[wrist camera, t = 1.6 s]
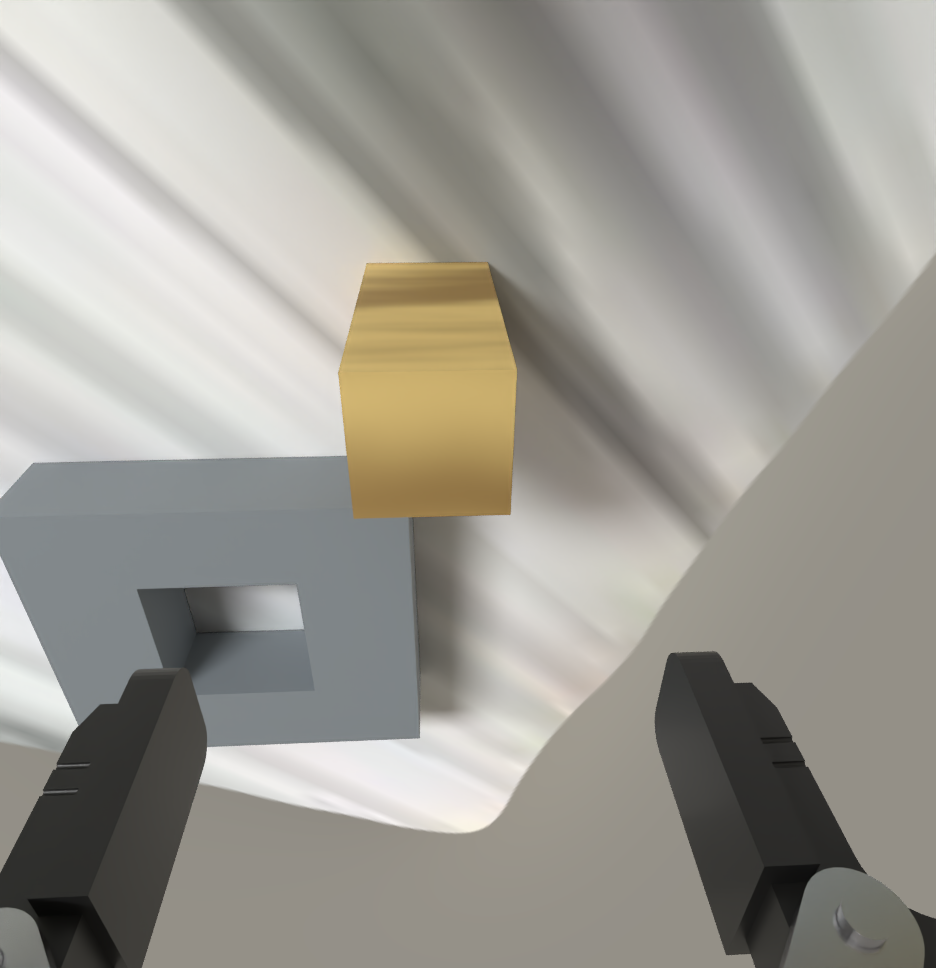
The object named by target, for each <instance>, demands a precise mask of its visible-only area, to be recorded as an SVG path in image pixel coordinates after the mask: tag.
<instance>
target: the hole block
mask: <svg viewBox="0 0 936 968" xmlns="http://www.w3.org/2000/svg"><path fill="white" fill-rule="evenodd" d="M0 556H1V558H2V560H3V563H4V565H5V567H6V569H7V571H8V573H9V576H10V578H11V580H12V582H13V584H14V586H15V589H16V591H17V593H18V595H19V597H20V599H21V602H22V604H23V606H24V608H25V610H26V612H27V615H28V617H29V619H30V621H31V623H32V625H33V628H34V630H35V632H36V634H37V636H38V638H39V641H40V643H41V645H42V647H43V649H44V651H45V654H46V656H47V658H48V660H49V662H50V664H51V667H52V669H53V671H54V673H55V675H56V677H57V680H58V682H59V684H60V686H61V688H62V690H63V693H64V695H65V697H66V699H67V701H68V703H69V706H70V708H71V710H72V712H73V714H74V716H75V719H76V721H77V723H78V725H80V724H81V723H82V722H83V721H84V720H85V719H86V718H87V717H88V716H89V715H90V714H91V713H92V712H93V711H94V710H95V709H96V708H97V707H98V706H99V705H100V704H118V702H119V700H120V698H121V696H122V694H123V692H124V689H125V687H126V685H127V683H128V681H129V679H130V677H131V675H132V674H133V673H134V672H135V671H136V670H138V669H157V668H186V669H187V670H188V671H189V673H190V676H191V679H192V682H193V685H194V689H195V692H196V695H197V699H198V702H199V705H200V709H201V712H202V715H203V719H204V722H205V725H206V731H207V747H217V746H242V745H266V744H290V743H315V742H339V741H364V740H388V739H412V738H420V660H419V639H418V618H417V597H416V577H415V556H414V535H413V517H401V518H363V519H354V518H353V509H352V499H351V489H350V480H349V470H348V461H347V456H330V457H285V458H240V459H195V460H150V461H106V462H61V463H33V464H32V465H31V466H30V467H29V468H28V469H27V470H26V471H25V473H24V474H23V475H22V476H21V477H20V478H19V479H18V480H17V481H16V482H15V483H14V485H13V486H12V487H11V488H10V489H9V490H8V491H7V492H6V493H5V494H4V495H3V496H2V498H1V499H0ZM289 584H297V589H298V595H299V601H300V607H301V613H302V619H303V625H304V630H281V631H252V632H222V633H196V630H195V626H194V623H193V619H192V616H191V612H190V609H189V605H188V602H187V598H186V595H185V591H184V588H191V587H223V586H256V585H289Z"/></svg>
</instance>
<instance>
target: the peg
mask: <svg viewBox="0 0 936 968" xmlns="http://www.w3.org/2000/svg"><path fill="white" fill-rule="evenodd" d="M338 375H339V384H340V394H341V404H342V413H343V423H344V432H345V442H346V451H347V461H348V470H349V480H350V489H351V499H352V509H353V518H354V519H363V518H401V517H440V516H478V515H510V513H511V491H512V469H513V448H514V426H515V404H516V382H517V368H516V364H515V360H514V357H513V353H512V349H511V346H510V342H509V338H508V335H507V331H506V328H505V324H504V320H503V317H502V313H501V309H500V306H499V302H498V298H497V295H496V291H495V287H494V284H493V280H492V277H491V273H490V269H489V266H488V262H452V263H367V264H366V268H365V272H364V276H363V280H362V284H361V287H360V291H359V295H358V299H357V303H356V307H355V310H354V314H353V318H352V322H351V326H350V330H349V333H348V337H347V341H346V345H345V349H344V353H343V356H342V360H341V364H340V368H339V372H338Z"/></svg>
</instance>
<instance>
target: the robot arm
mask: <svg viewBox="0 0 936 968" xmlns="http://www.w3.org/2000/svg"><path fill="white" fill-rule="evenodd" d="M655 732H656V739H657V744H658V748H659V752H660V755H661V758H662V761H663V763H664V767H665V770H666V773H667V776H668V779H669V782H670V785H671V788H672V791H673V794H674V797H675V800H676V803H677V806H678V809H679V812H680V816H681V818H682V822H683V825H684V828H685V831H686V833H687V837H688V840H689V843H690V846H691V849H692V852H693V855H694V858H695V861H696V864H697V867H698V870H699V874H700V877H701V880H702V882H703V886H704V889H705V892H706V895H707V898H708V901H709V904H710V907H711V910H712V913H713V916H714V919H715V922H716V925H717V928H718V931H719V934H720V938H721V941H722V944H723V946H724V950H725V953H726V955H738V954H751V956H752V959H753V961H754V965H755V967H756V968H936V919H934V918H931V917H928V916H925V915H923V914H920V913H918V912H916V911H914V910H911V909H909V908H907V906H906V905H905V904H904V903H903V902H902V900H901V899H900V898H899V897H898V896H897V895H896V894H895V893H894V892H893V891H891V890H890V889H889V888H888V887H886V886H885V885H884V884H882V883H881V882H880V881H878V880H876V879H874V878H873V877H871V876H869V875H867V873H866V872H865V871H864V870H863V868H862V867H861V865H860V864H859V862H858V860H857V859H856V857H855V855H854V853H853V852H852V850H851V848H850V846H849V844H848V842H847V840H846V838H845V836H844V834H843V833H842V830H841V829H840V827H839V825H838V823H837V821H836V819H835V817H834V815H833V813H832V811H831V810H830V808H829V806H828V804H827V802H826V800H825V798H824V796H823V794H822V792H821V791H820V789H819V787H818V785H817V783H816V781H815V780H814V778H813V776H812V773H811V771H810V770H809V768H808V767H806V766H805V762H804V761H805V760H804V758H803V756H802V755H801V752H800V751H799V749H798V747H797V745H796V743H795V742H793V741H792V735H791V734H790V732H789V730H788V728H787V726H786V724H785V722H784V720H783V718H782V716H781V714H780V713H779V711H778V709H777V707H776V706H775V705H774V704H773V703H772V702H771V701H770V700H768V698H767V697H765V695H763V694H762V693H761V692H760V691H759V690H758V689H757V688H756V687H755V686H754V685H753V684H752V683H734V682H733V680H732V678H731V676H730V674H729V672H728V670H727V668H726V666H725V663H724V662H723V660H722V658H721V656H720V655H719V654H718V653H717V652H714V651H712V652H682V653H671V654H670V655H669V656H668V659H667V663H666V667H665V671H664V676H663V680H662V684H661V689H660V694H659V698H658V702H657V707H656V712H655ZM206 751H207V731H206V725H205V722H204V719H203V715H202V712H201V709H200V705H199V702H198V699H197V695H196V692H195V689H194V685H193V682H192V679H191V676H190V673H189V671H188V670H187V669H186V668H157V669H138V670H136V671H135V672H134V673H133V674H132V675H131V677H130V679H129V681H128V683H127V685H126V687H125V689H124V692H123V694H122V696H121V698H120V700H119V702H118V704H100V705H99V706H98V707H97V708H96V709H95V710H94V711H93V712H92V713H91V714H90V715H89V716H88V717H87V718H86V719H85V720H84V721H83V722H82V723H81V724H80V725H79V726H78V727H77V728H76V729H75V730H74V731H73V732H72V734H71V736H70V738H69V740H68V742H67V744H66V746H65V748H64V750H63V752H62V754H61V756H60V758H59V760H58V762H57V768H56V770H53V771H52V773H51V775H50V777H49V779H48V782H47V783H46V785H45V787H44V789H43V791H44V793H43V795H42V796H40V797H39V799H38V801H37V803H36V805H35V807H34V808H33V811H32V812H31V814H30V816H29V818H28V820H27V822H26V824H25V826H24V828H23V830H22V832H21V834H20V836H19V838H18V840H17V842H16V844H15V846H14V847H13V849H12V851H11V853H10V855H9V857H8V859H7V861H6V863H5V865H4V867H3V869H2V871H1V873H0V968H142V965H143V962H144V958H145V955H146V952H147V949H148V945H149V942H150V939H151V936H152V933H153V929H154V926H155V923H156V919H157V916H158V913H159V909H160V907H161V903H162V900H163V897H164V894H165V890H166V887H167V884H168V880H169V877H170V874H171V871H172V867H173V864H174V861H175V858H176V855H177V851H178V848H179V845H180V842H181V838H182V835H183V832H184V829H185V825H186V822H187V819H188V816H189V812H190V809H191V806H192V802H193V799H194V796H195V793H196V790H197V787H198V783H199V780H200V777H201V774H202V770H203V767H204V763H205V758H206Z"/></svg>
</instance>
